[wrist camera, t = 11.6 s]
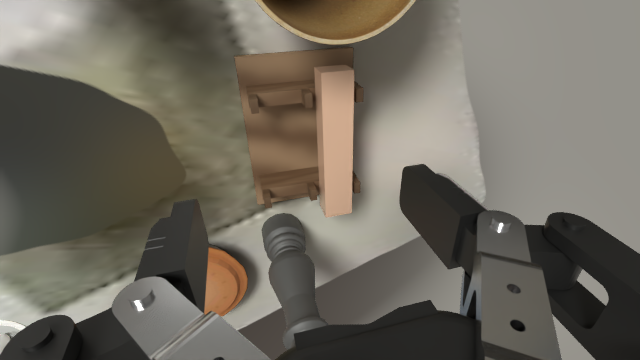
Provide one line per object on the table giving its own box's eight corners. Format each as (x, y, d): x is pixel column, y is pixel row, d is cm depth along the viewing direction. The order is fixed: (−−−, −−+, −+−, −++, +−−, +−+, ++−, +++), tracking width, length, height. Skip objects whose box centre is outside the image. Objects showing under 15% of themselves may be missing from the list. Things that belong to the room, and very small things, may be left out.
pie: (231, 219, 48) (231, 240, 43) (256, 289, 56) (258, 313, 52) (121, 247, 46) (111, 272, 41) (164, 315, 54) (158, 343, 49)
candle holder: (298, 244, 53) (346, 408, 32) (260, 245, 51) (284, 420, 30) (303, 213, 50) (359, 370, 29) (263, 213, 48) (291, 381, 27)
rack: (234, 55, 37) (235, 67, 31) (350, 47, 40) (372, 56, 34) (257, 200, 47) (261, 230, 41) (348, 186, 50) (365, 211, 44)
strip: (314, 67, 35) (321, 72, 32) (345, 64, 36) (354, 69, 33) (320, 204, 44) (325, 217, 41) (344, 200, 45) (351, 212, 42)
